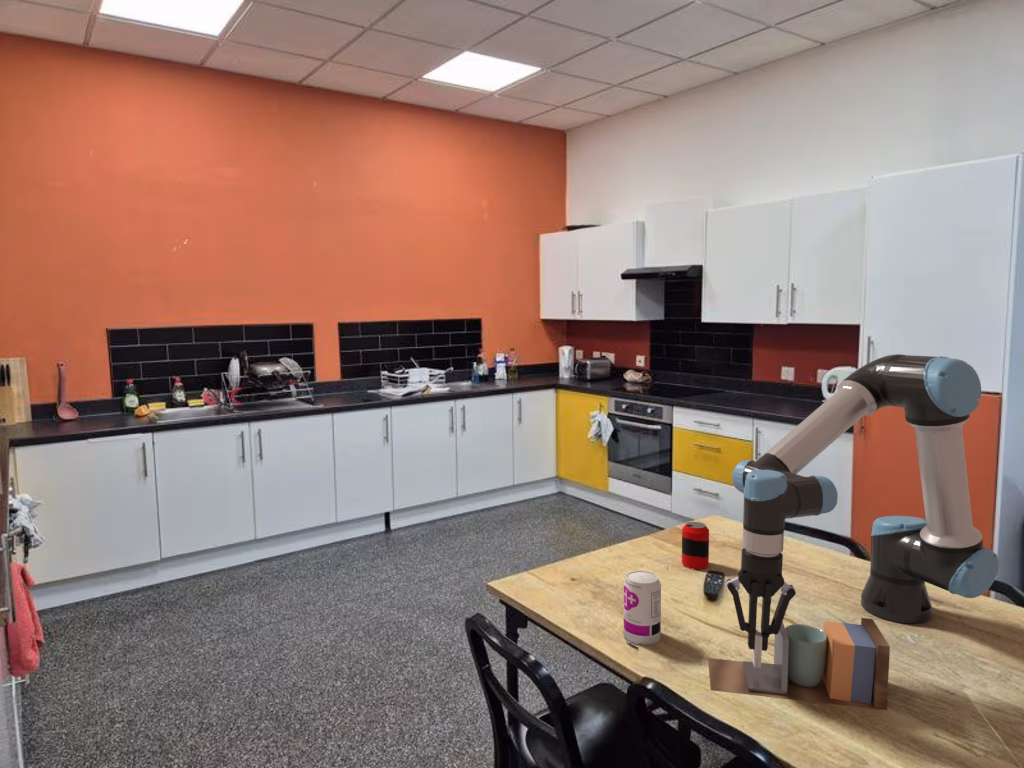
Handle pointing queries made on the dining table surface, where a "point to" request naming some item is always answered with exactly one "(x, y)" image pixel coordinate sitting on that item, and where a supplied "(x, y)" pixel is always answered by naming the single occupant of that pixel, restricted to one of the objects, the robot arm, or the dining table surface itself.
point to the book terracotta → (838, 661)
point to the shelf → (734, 680)
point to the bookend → (771, 668)
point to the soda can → (695, 545)
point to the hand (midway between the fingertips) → (756, 664)
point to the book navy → (862, 663)
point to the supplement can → (642, 608)
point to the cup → (806, 654)
